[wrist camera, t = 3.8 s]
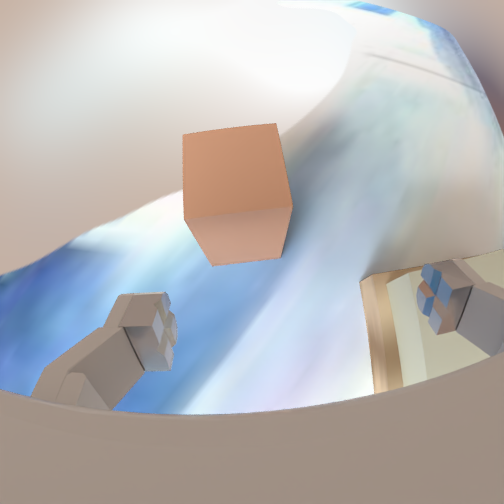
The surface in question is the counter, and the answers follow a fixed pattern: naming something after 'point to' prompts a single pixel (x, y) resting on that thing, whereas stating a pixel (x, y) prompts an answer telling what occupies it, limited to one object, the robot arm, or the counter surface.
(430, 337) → the tower top
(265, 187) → the tall block
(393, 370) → the tower base
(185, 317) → the counter surface
